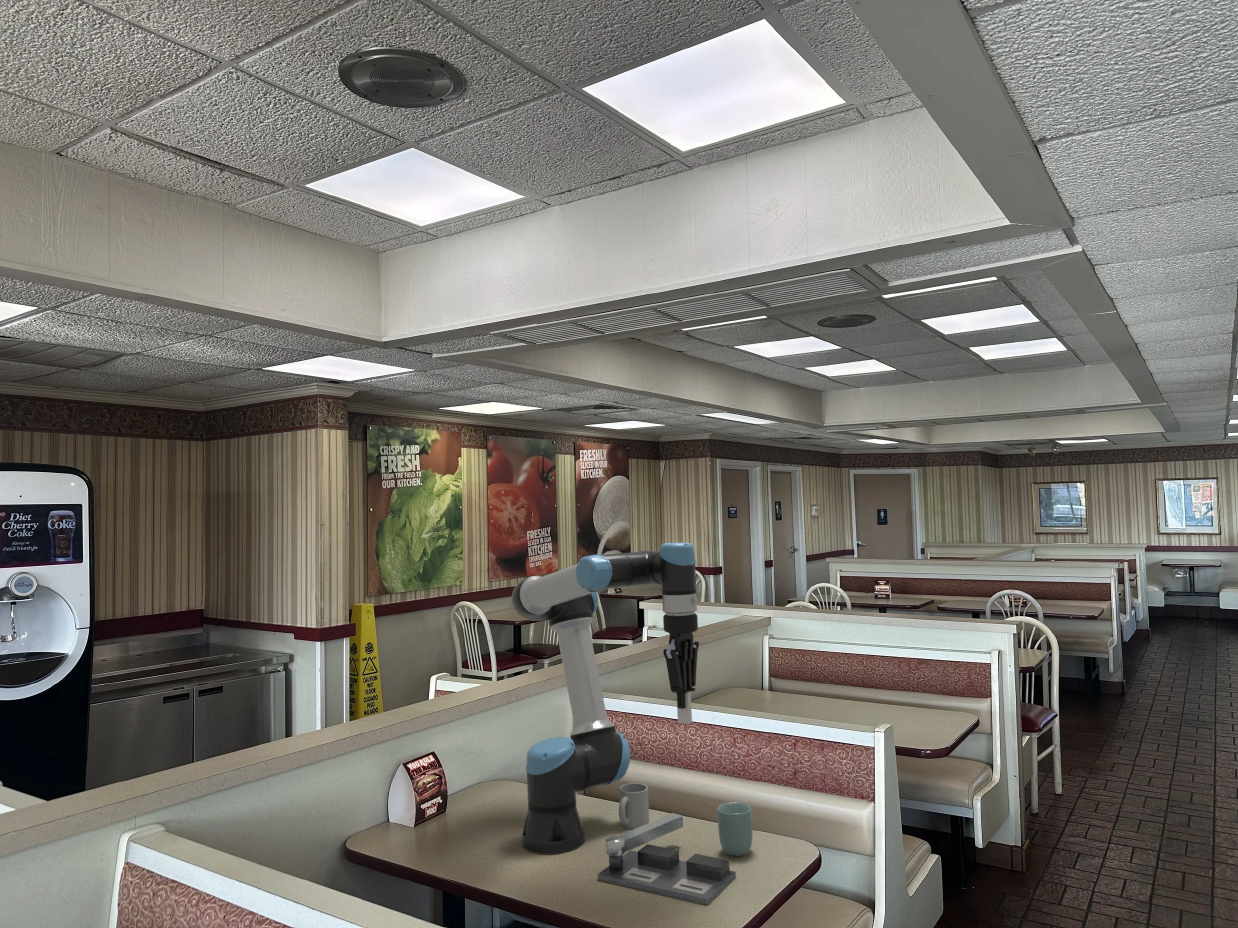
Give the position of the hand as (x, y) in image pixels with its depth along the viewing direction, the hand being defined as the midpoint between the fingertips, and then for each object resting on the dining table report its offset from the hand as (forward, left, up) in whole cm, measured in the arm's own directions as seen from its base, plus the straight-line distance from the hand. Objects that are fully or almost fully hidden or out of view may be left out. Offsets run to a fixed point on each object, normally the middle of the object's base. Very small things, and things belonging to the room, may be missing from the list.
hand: (684, 722), depth 182 cm
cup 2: (+4, +15, -33) cm, 36 cm away
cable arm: (-13, +2, -28) cm, 31 cm away
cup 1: (-26, +19, -33) cm, 46 cm away
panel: (-4, -4, -32) cm, 33 cm away
